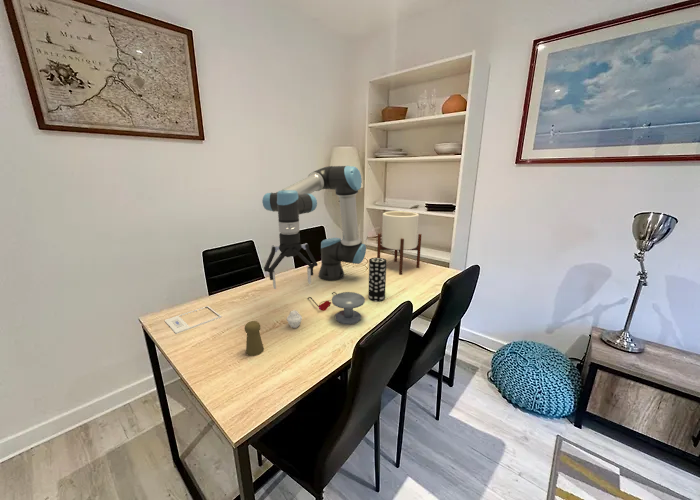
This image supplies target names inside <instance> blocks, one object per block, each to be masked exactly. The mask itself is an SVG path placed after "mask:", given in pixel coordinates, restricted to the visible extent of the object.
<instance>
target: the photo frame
mask: <svg viewBox="0 0 700 500" xmlns="http://www.w3.org/2000/svg"><path fill="white" fill-rule="evenodd" d="M205 307H206V308H209V310H211V311H212V312H214V313H215V314H216V315H217V317H214V318H210V319H208V320H205V321H203V322H202V321H201V322H199V323H197V324H194V325H192V326H190V325H188V323H187V322H186V321H184V319H183V318H182V317H183V316H182V315H184V316H186V315H185V314H187V315H189V314H188V313H190V314H192V313H191V312H193V313H195V312H194V311H196V312H198V311H197V310H199V311H201V310H200V309H202V310H204V309H203V308H205ZM206 308H205V309H206ZM179 316H181V317H179ZM222 317H223V316H222V315H221V314H220V313H218V312H217V311H216V310H214V308H212V307H211V306H209V305H206V306H204V307H200V308H197V309H194V310H191V311H188V312H184V313H181V314H179V315H175V316H172V317H169V318H167V319H164V322H165V323H166V324H167V326H168V327H169V326H170V327H169V328H170V329H171V330H172V331H173V333H175V335H177V334H180V333H184V332H185V331H189V330H191V329H194V328H197V327H199V326H201V325H204V324H207V323H210V322H213V321H215V319H216V320H219V319H221V318H222ZM218 318H219V319H218Z"/></svg>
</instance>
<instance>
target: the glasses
mask: <svg viewBox="0 0 700 500" xmlns="http://www.w3.org/2000/svg"><path fill="white" fill-rule="evenodd" d="M331 294H332V295H333V294H334V295H336V294H338V293H337V292H336V291H333V292H331ZM306 299H307V300H308V299H311V300H312V302H313V303H314V304H315V305H316V306H317V307H318V310H320V311H322V312H324V311H327V309H328V308H329V307H331V304H332V301H331V299H329V300H325V301H321V302H320V303H319V305H318V303H317V302H316V301H315V300H314V299H313V298H312V297H311V296H309V297H307V298H306Z"/></svg>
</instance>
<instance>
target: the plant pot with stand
mask: <svg viewBox="0 0 700 500" xmlns="http://www.w3.org/2000/svg"><path fill="white" fill-rule="evenodd" d="M419 217H420V214H419V213H417V212H413V211H405V210H403V211H400V210H396V211H395V210H393V211H384V212H383V213H382V222H381V223H382V229H381V233H377V248H376V249H377V251H376V252H377V253H376V256H377V257H376V258H381V251H394V255H393V257H394V258H393V261H394V262H395V263H397V262H398V254H399V264H398V265H399V267H398V275H399V276H402V275H403V269H404V268H403V265H404V251H417V252H416V264H415V268H416V269H420V265H421V264H420V263H421V262H420V260H421V259H420V258H421V248H422V247H421V245H422V233H419V232H418V231H419V219H420V218H419ZM398 252H399V253H398Z"/></svg>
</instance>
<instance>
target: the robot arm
mask: <svg viewBox="0 0 700 500" xmlns="http://www.w3.org/2000/svg"><path fill="white" fill-rule="evenodd" d="M362 181H363V180H362V175H361V171H360V170H359V169H358V167H356V166H354V165H353V166H350V165H334V166H333V165H331V166H330V165H328V166H325V167H321V168H319V169H317V170H313V171H312V172H311V173H309V174H308V175H307V177H305V178H302V179H301V180H299V181H297V182H295V183H293V184H290V185H289V186H287V187H285V188H282V189H281V190H278V191H276V192H267V193H265V194H264V195H263V197H262V199H261V200H262V207H263V208H264V209H265V210H266V211H270V212H276V213H277V216H278V217H277V218H278V220H277V221H278V232H279V234H278V235H279V236H278V237H279V246H276V245H271V248H270V249H271V250H270V253H269V256H268V258H267V260H266V262H265V265H264V267H263V270H264V272H266V273H267V272H268V274H269V280H270V281H272V286H273V289H276V288H277V284H276V273H275V269H276V268H277V267H278V265H280V263H281V262H282V261H283V259H285V257H286V258H291V257H296V256H298V257H299V258H300V259H301V260H302V261H303V262H304V264H306V265H307V267H306V270H307V273H306V274H307V283H308V284H309V285H312V276H314V268H315V267H318V262H317V261H316V259H315V258H314V255H313V254H312V251H310V245H309V244H308V243H307V242H304V243H303V244H301V233H300V215H303V214H309V213H311V212H314V211H315V210H316V208H317V206H318V202H317V201H318V200H317V197H316V196H314V194H313V193H314V192H320V191H321V190H333V191H335V195H336V196H337V197H338V201H339V210H340V211H339V212H340V217H341V218H340V219H341V230H342V238H339V237H331V238H326V239H323V240H322V241H321V242H320V254H321V255H320V258H321V265H320V269H319V272H318V277H319V279H321V280H323V281H329V282H330V281H338V280H341V279H344V277H345V272H344V269H343V266H342V262H343V263H349V264H356V265H358V264H361V263H362V262H363V261H364V259H365V256H366V254H367V253H366V252H367V246H366V244H365V243H363V242H362V238H361V237H359V225H358V211H357V199H356V196H357V194H358V193H359V190H361V187H362ZM302 249H303V250H305V251H306V253H307V255H308V256H309V258H310V260H311V262H310V261H309V260H308V259H307V258H306V257H305V255H303V254H302V253H301V252H300V251H301V250H302ZM278 251H280V253H279V255H278V256H277V258H276V259H275V260H274V262H273V263H272V261H273V259H274V257H275V255H276V253H277V252H278Z"/></svg>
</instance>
